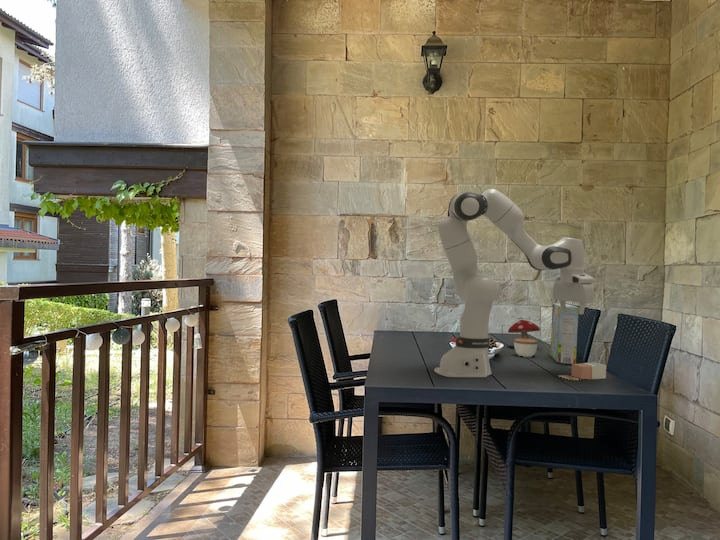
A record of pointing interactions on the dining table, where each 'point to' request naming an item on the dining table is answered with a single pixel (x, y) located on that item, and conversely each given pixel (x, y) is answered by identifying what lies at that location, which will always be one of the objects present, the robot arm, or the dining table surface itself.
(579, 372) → the stub
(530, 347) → the lidded jar
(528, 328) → the decorative mushroom
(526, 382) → the dining table surface
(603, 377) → the block
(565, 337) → the snack box
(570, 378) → the stub mat
